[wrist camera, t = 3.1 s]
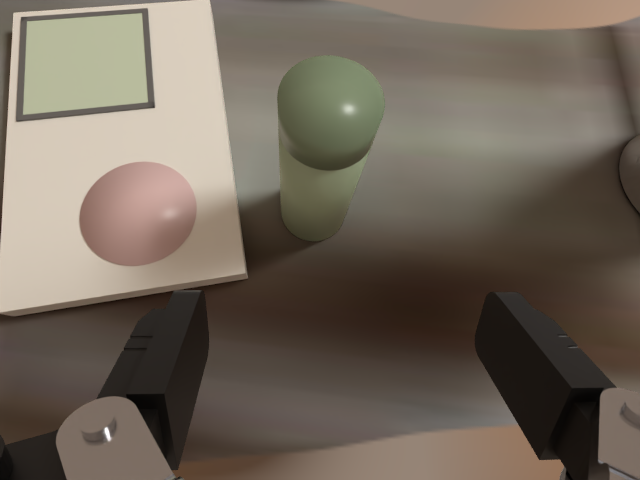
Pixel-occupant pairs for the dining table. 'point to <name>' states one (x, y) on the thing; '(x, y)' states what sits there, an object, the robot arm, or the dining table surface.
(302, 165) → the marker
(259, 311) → the dining table surface
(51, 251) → the picture board
